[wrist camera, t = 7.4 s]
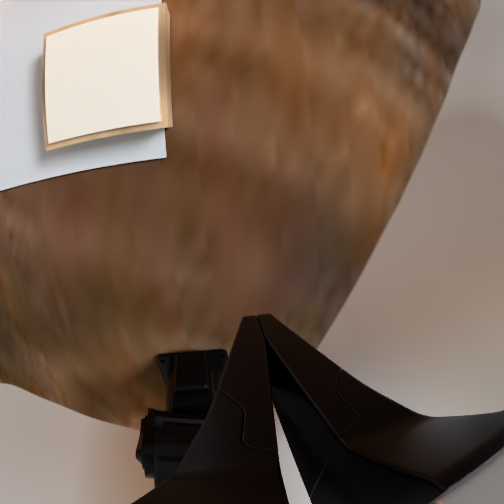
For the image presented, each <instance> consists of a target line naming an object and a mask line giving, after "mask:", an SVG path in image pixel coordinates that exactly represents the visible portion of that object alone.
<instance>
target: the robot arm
mask: <svg viewBox="0 0 504 504" xmlns="http://www.w3.org/2000/svg"><path fill="white" fill-rule="evenodd" d="M222 354H224V355H222ZM161 359H163V360H161ZM157 362H158V365H159V368H160V371H161V374H162V376H163V379H164V382H165V385H166V387H167V391H166V411H160V410H155V409H151V408H149V410H148V416H147V415H146V416H145V418H143V419H141V429H140V437H139V441H138V445H137V449H136V459H137V460H138V461H139V462H140V463H141V464H142V468H143V469H144V471H145V477H146V478H152V479H154V481H155V488H154V489H153V490H152V491H150V492H148V493H147V494H145V495H144V496H143V497H141V498H139V499H138V500H136V501H135V502H133V503H132V504H289V502H288V498H287V494H286V490H285V486H284V483H283V478H282V474H281V470H280V463H279V455H278V446H277V438H276V429H275V420H274V413H273V412H274V411H273V404H274V407H275V409H276V412H277V415H278V417H279V420H280V423H281V425H282V428H283V431H284V433H285V436H286V438H287V441H288V444H289V447H290V449H291V452H292V454H293V457H294V460H295V462H296V465H297V467H298V470H299V472H300V475H301V478H302V480H303V482H304V485H305V488H306V490H307V492H308V495H309V497H310V500H311V503H312V504H504V410H503V411H500V412H494V413H486V414H477V415H465V416H450V417H430V416H425V415H421V414H419V413H416V412H414V411H412V410H410V409H408V408H406V407H404V406H403V405H401V404H399V403H397V402H395V401H393V400H391V399H389V398H388V397H386V396H384V395H382V394H380V393H379V392H377V391H375V390H373V389H372V388H370V387H368V386H367V385H365V384H363V383H362V382H360V381H359V380H357V379H356V378H355V377H353V376H352V375H350V374H349V373H347V372H346V371H344V370H343V369H342V370H341V367H339V366H338V365H337V364H335V363H334V362H333V361H331V360H330V359H328V358H327V357H326V356H324V355H323V354H322V353H320V352H319V351H318V350H316V349H315V348H314V347H313V346H311V345H310V344H309V343H307V342H306V341H305V340H303V339H302V338H301V337H299V336H298V335H297V334H295V333H294V332H293V331H292V330H290V329H289V328H288V327H286V326H285V325H284V324H282V323H281V322H280V321H279V320H277V319H276V318H275V317H274V316H272V315H271V314H261V315H257V317H256V316H254V315H253V316H245V317H243V318H242V320H241V323H240V326H239V329H238V331H237V334H236V337H235V340H234V343H233V346H232V349H231V351H230V354H229V357H228V353H227V351H226V350H223V349H221V350H211V351H201V352H189V353H176V354H161V355H159V356H158V358H157ZM272 401H273V402H272Z"/></svg>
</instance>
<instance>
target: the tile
mask: <svg viewBox="0 0 504 504" xmlns="http://www.w3.org/2000/svg"><path fill="white" fill-rule="evenodd" d="M42 106H43V123H44V135H45V145H46V151H48V150H52V149H55V148H59V147H63V146H67V145H72V144H76V143H80V142H85V141H89V140H94V139H99V138H104V137H109V136H115V135H120V134H126V133H132V132H138V131H145V130H152V129H160V128H168V127H173V123H172V105H171V81H170V15H169V11H168V8H167V5H166V3H159V4H152V5H146V6H140V7H135V8H130V9H125V10H121V11H116V12H112V13H108V14H104V15H100V16H96V17H93V18H89V19H86V20H83V21H79V22H76V23H73V24H70V25H67V26H64V27H61V28H59V29H56V30H53V31H51V32H48V33H45V34H44V38H43V54H42Z"/></svg>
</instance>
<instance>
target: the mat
mask: <svg viewBox="0 0 504 504" xmlns="http://www.w3.org/2000/svg"><path fill="white" fill-rule="evenodd" d="M159 3H162V0H0V191H2V190H5V189H9V188H12V187H16V186H19V185H23V184H27V183H31V182H35V181H39V180H43V179H47V178H51V177H55V176H60V175H64V174H69V173H74V172H79V171H84V170H89V169H94V168H100V167H105V166H111V165H117V164H123V163H130V162H136V161H143V160H151V159H158V158H166V157H167V155H166V143H165V130H164V128H160V129H152V130H145V131H138V132H132V133H126V134H120V135H115V136H109V137H104V138H99V139H94V140H89V141H85V142H80V143H76V144H72V145H67V146H63V147H59V148H55V149H52V150H48V151H46V145H45V135H44V123H43V106H42V54H43V38H44V34H45V33H48V32H51V31H53V30H56V29H59V28H61V27H64V26H67V25H70V24H73V23H76V22H79V21H83V20H86V19H89V18H93V17H96V16H100V15H104V14H108V13H112V12H116V11H121V10H125V9H130V8H135V7H140V6H146V5H152V4H159Z"/></svg>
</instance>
